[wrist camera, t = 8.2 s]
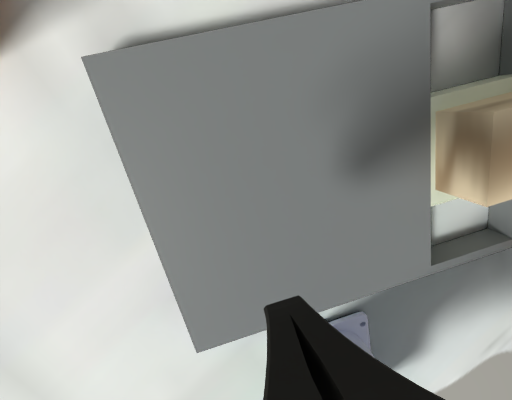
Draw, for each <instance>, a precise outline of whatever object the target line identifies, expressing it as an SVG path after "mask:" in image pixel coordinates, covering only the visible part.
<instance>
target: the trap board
mask: <svg viewBox="0 0 512 400" xmlns="http://www.w3.org/2000/svg"><path fill="white" fill-rule="evenodd" d="M469 1H474V0H361V1H356V2H351V3H346V4H341V5H336V6H331V7H326V8H321V9H316V10H311V11H306V12H301V13H296V14H291V15H286V16H281V17H277V18H272V19H267V20H262V21H257V22H252V23H247V24H242V25H237V26H232V27H227V28H222V29H217V30H212V31H207V32H202V33H197V34H192V35H187V36H182V37H177V38H172V39H167V40H162V41H157V42H152V43H148V44H143V45H138V46H133V47H128V48H123V49H118V50H113V51H108V52H103V53H98V54H93V55H88V56H83V57H81V58H82V61H83V63H84V66H85V68H86V71H87V74H88V76H89V79H90V81H91V84H92V86H93V89H94V91H95V94H96V97H97V99H98V102H99V104H100V107H101V109H102V112H103V114H104V117H105V120H106V122H107V125H108V127H109V130H110V132H111V135H112V137H113V140H114V143H115V145H116V148H117V150H118V153H119V155H120V158H121V160H122V163H123V166H124V168H125V171H126V173H127V176H128V178H129V181H130V183H131V186H132V189H133V191H134V194H135V196H136V199H137V201H138V204H139V206H140V209H141V212H142V214H143V217H144V219H145V222H146V224H147V227H148V229H149V232H150V235H151V237H152V240H153V242H154V245H155V247H156V250H157V252H158V255H159V258H160V260H161V263H162V265H163V268H164V270H165V273H166V275H167V278H168V281H169V283H170V286H171V288H172V291H173V293H174V296H175V299H176V301H177V304H178V306H179V309H180V311H181V314H182V316H183V319H184V322H185V324H186V327H187V329H188V332H189V334H190V337H191V339H192V342H193V345H194V347H195V350H196V352H197V353H199V352H202V351H205V350H208V349H211V348H214V347H217V346H220V345H223V344H226V343H229V342H232V341H235V340H238V339H241V338H244V337H247V336H250V335H253V334H256V333H258V332H261V331H264V330H267V324H266V317H265V313H264V307H265V306H266V305H269V304H272V303H275V302H278V301H282V300H285V299H288V298H291V297H294V296H298V295H299V296H300V297H302V298H303V299H304V300H305V301H306V302H307V303H308V304H309V305H310V306H311V307H312V308H313V309H314V310H315V311H316V312H317V313H318V312H321V311H324V310H327V309H330V308H333V307H336V306H339V305H342V304H345V303H348V302H351V301H354V300H357V299H360V298H363V297H366V296H369V295H372V294H375V293H378V292H381V291H384V290H387V289H390V288H393V287H396V286H399V285H402V284H405V283H408V282H411V281H414V280H417V279H420V278H423V277H426V276H429V275H432V274H435V273H438V272H441V271H444V270H447V269H450V268H453V267H456V266H458V265H461V264H464V263H467V262H470V261H473V260H476V259H479V258H482V257H485V256H488V255H491V254H494V253H497V252H500V251H503V250H506V249H509V248H512V199H511V200H508V201H505V202H502V203H498V204H495V205H492V206H489V215H488V228H487V229H484V230H481V231H478V232H475V233H472V234H469V235H466V236H463V237H459V238H456V239H453V240H450V241H447V242H444V243H441V244H438V245H435V246H431V206H435V205H438V204H441V203H445V202H448V201H451V200H455V199H458V197H455V196H452V195H449V194H447V193H444V192H441V191H438V190H435V148H436V111H440V110H444V109H448V108H452V107H455V106H459V105H463V104H467V103H471V102H474V101H478V100H482V99H486V98H490V97H494V96H497V95H501V94H505V93H509V92H512V0H505V6H504V19H503V32H502V45H501V58H500V71H499V76H496V77H492V78H488V79H484V80H480V81H476V82H472V83H468V84H464V85H460V86H456V87H452V88H448V89H444V90H440V91H436V92H432V93H431V35H430V10H432V9H436V8H441V7H446V6H450V5H455V4H460V3H464V2H469Z"/></svg>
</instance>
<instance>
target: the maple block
mask: <svg viewBox="0 0 512 400" xmlns="http://www.w3.org/2000/svg"><path fill="white" fill-rule="evenodd" d="M435 190H438V191H441V192H444V193H447V194H449V195H452V196H455V197H458V198H461V199H464V200H467V201H470V202H473V203H476V204H479V205H482V206H485V207H489V206H492V205H495V204H498V203H502V202H505V201H508V200H511V199H512V92H509V93H505V94H501V95H497V96H494V97H490V98H486V99H482V100H478V101H474V102H471V103H467V104H463V105H459V106H455V107H452V108H448V109H444V110H440V111H436V148H435Z"/></svg>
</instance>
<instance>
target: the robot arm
mask: <svg viewBox="0 0 512 400" xmlns="http://www.w3.org/2000/svg"><path fill="white" fill-rule="evenodd" d="M264 313H265V317H266V324H267V366H266V379H265V389H264V398H263V400H445V399H443V398H441V397H439V396H437V395H435V394H434V393H432V392H430V391H428V390H426V389H424V388H422V387H420V386H419V385H417V384H415V383H414V382H412V381H410V380H409V379H407V378H405V377H404V376H402V375H400V374H399V373H397V372H395V371H394V370H392V369H391V368H389V367H388V366H386V365H384V364H383V363H381V362H380V361H378V360H377V359H376V358H375V357H374V355H373V354H372V353H371V346H370V336H369V327H368V317H367V315H366V314H365V313H364V312H362V311H361V312H357V313H354V314H351V315H348V316H345V317H343V318H340V319H337V320H334V321H331V322H327V321H326V320H325V319H324V318H323V317H322V316H320V315H319V314H318V313H317V312H316V311H315V310H314V309H313V308H312V307H311V306H310V305H309V304H308V303H307V302H306V301H305V300H304V299H303V298H302V297H300V296H299V295H298V296H294V297H291V298H288V299H285V300H282V301H278V302H275V303H272V304H269V305H266V306H265V307H264ZM361 322H362V323H361Z"/></svg>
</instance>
